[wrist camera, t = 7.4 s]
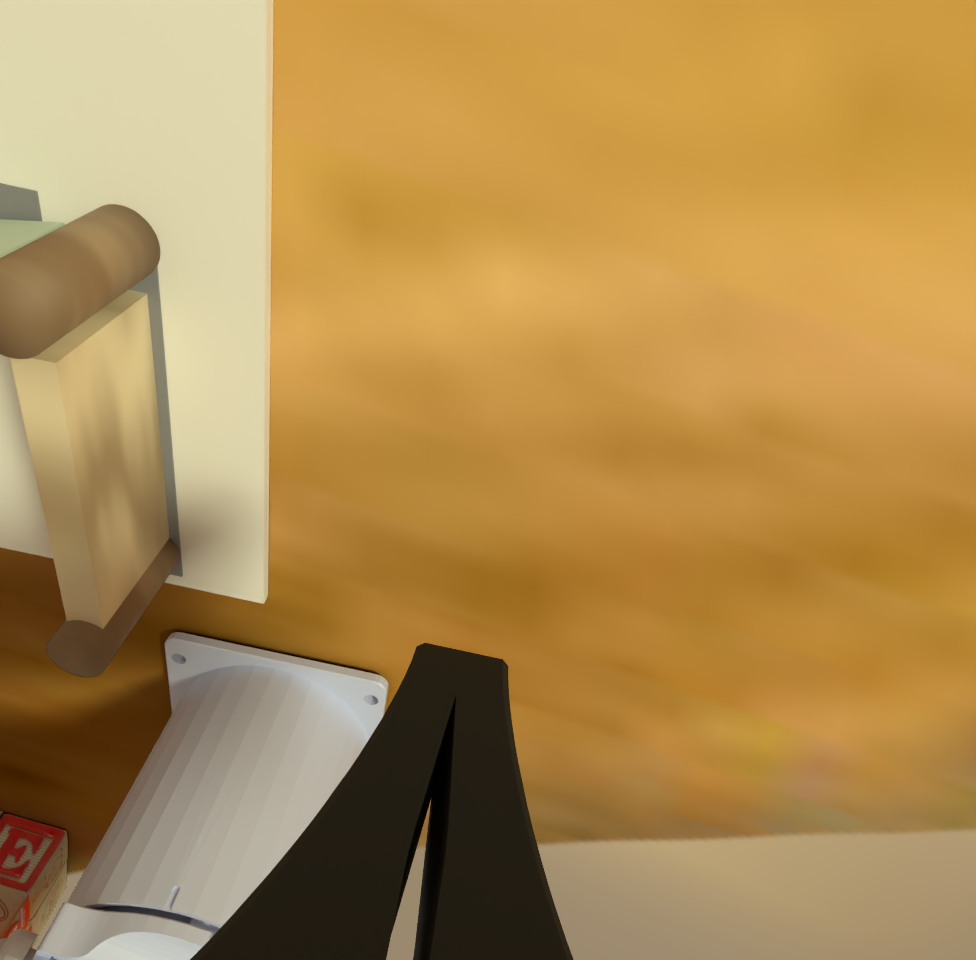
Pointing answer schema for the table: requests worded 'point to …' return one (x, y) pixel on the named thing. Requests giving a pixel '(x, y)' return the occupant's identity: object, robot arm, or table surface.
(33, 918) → the stack of blocks
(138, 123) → the card
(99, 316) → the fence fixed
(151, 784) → the robot arm
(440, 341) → the table surface
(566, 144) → the table surface
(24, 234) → the pale green bar
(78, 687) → the table surface
